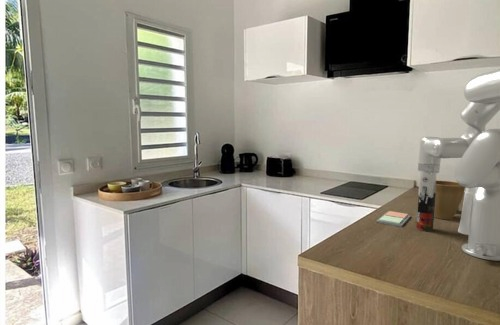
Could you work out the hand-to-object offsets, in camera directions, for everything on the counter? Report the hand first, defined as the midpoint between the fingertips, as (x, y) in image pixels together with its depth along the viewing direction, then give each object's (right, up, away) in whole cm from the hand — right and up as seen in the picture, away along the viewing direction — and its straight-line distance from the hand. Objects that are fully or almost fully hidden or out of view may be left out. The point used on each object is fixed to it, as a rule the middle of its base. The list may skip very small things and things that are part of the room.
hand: (424, 209), depth 131 cm
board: (-7, -6, +13) cm, 16 cm away
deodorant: (0, -8, 0) cm, 8 cm away
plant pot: (+18, -6, +17) cm, 25 cm away
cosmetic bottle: (+14, -9, -4) cm, 17 cm away
